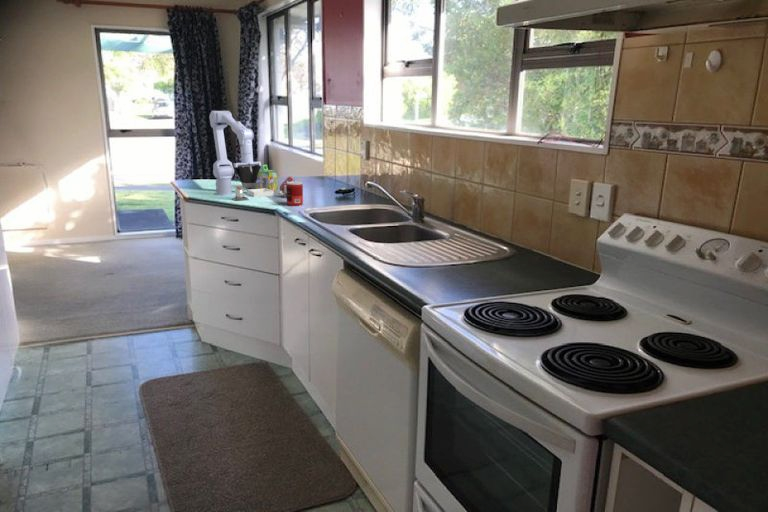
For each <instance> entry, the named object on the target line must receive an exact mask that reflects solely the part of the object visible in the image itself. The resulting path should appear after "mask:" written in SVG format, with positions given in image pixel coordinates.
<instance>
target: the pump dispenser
mask: <svg viewBox="0 0 768 512" xmlns="http://www.w3.org/2000/svg"><path fill="white" fill-rule="evenodd" d="M248 165H250V164H248ZM242 168H244V174H243V176H244V182H241V181H240V183H241V185H242V186H241V187H242V188H243V189H244V188H245V189H247V188H252V189H256V180H254V179H253V171H252V166H246V167H242Z"/></svg>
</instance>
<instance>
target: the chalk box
mask: <svg viewBox="0 0 768 512" xmlns="http://www.w3.org/2000/svg"><path fill="white" fill-rule="evenodd" d="M261 166H262V169H260V170H259V173H258V177H257V180H256V187H255V189H263V188H267V189H270V190H273V191H274V192H277V191H276V190H279V189H278V187H279V184H278V170H276V169H275V170H273V169H269V168H268V164H263V165H262V164H261Z"/></svg>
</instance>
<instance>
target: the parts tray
mask: <svg viewBox="0 0 768 512" xmlns="http://www.w3.org/2000/svg"><path fill="white" fill-rule="evenodd" d="M246 195H248V196H251V197H253V198H260V197H271V196H272V197H273V196H275V191H273V190H270V189H267V188H263V189H256V188H252V189H246Z"/></svg>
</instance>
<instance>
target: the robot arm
mask: <svg viewBox="0 0 768 512" xmlns="http://www.w3.org/2000/svg"><path fill="white" fill-rule="evenodd" d="M208 118H209V125H210V127H211V128H212V131H213V139H214V144H215V145H214V146H215V153H216V159H217V160H215V162H214V163H213V165H212V169H213V170H212V174H213V176H214V177H215V179H216V180H215V188H216V189H215V191H216V192H214V195H218V196H227V195H234V193H233V192H232V190H233V189H232V179H233V176H234V174H235V171H236V173H237V175H238V177H239V181H240V183H241V182H244V176H243V174H244V168H243V167H246V166H252V171H253V179H254V180H257V177H258V173H259V170H261V169H262V168H261V166H262V161H254V154H253V140H254V138H255V134H254V131H253V129H252V128H247V126H245V125H244V124H242V122H241V121H237V120H236V119H234V117H233V115H232V112H230V110H211V112H210V114H209V117H208ZM228 126H230V127H231V130H232V132H234V134H235V135H236V137H237V140H238V143H239V145H240V157H241V162H236V163H235V162H233V163H232V161H230V160H229V159H228V155H227V148H226V147H227V146H226V141H225V134H224V133H225V132H224V129H225V128H227V127H228ZM248 164H250V165H248Z"/></svg>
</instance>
